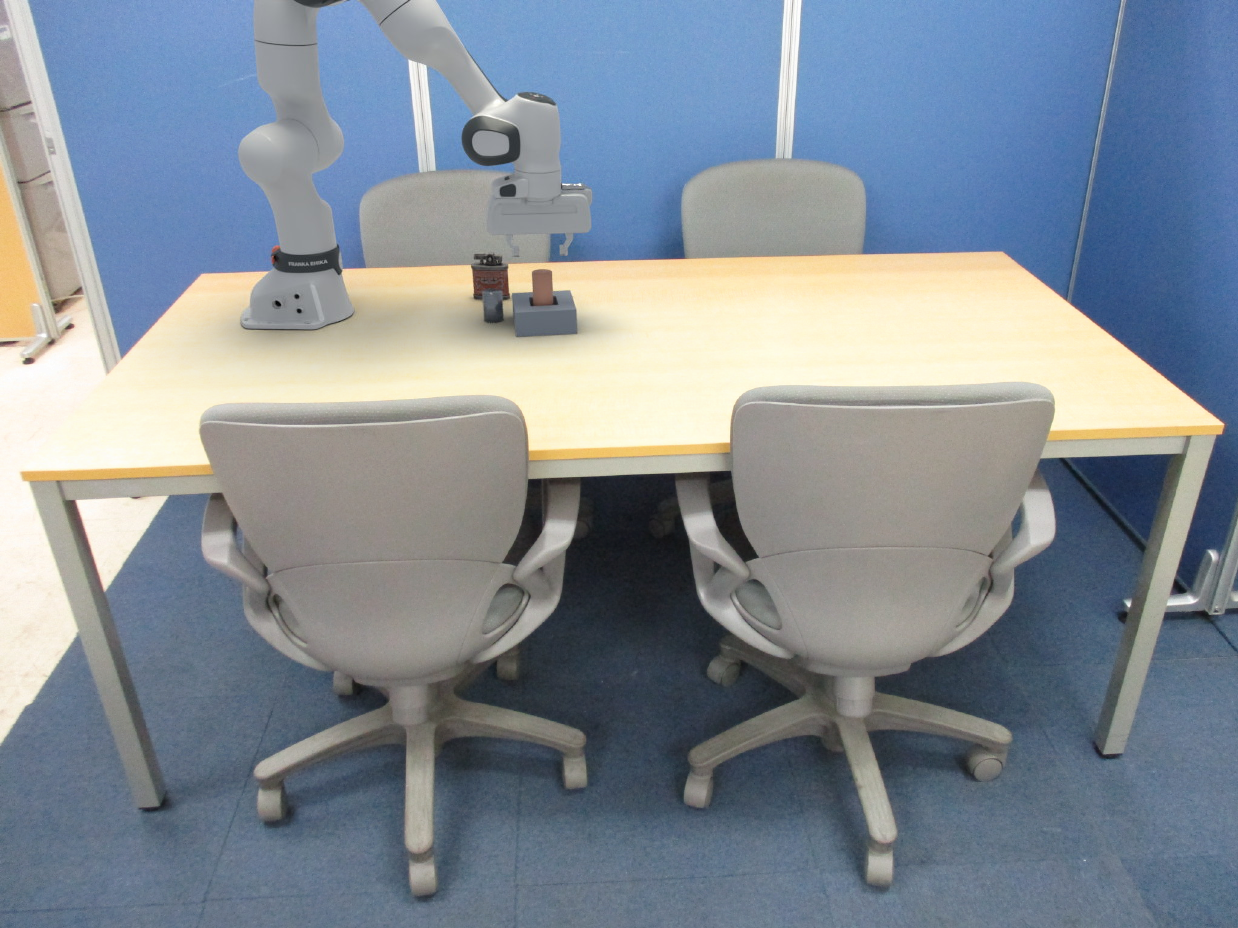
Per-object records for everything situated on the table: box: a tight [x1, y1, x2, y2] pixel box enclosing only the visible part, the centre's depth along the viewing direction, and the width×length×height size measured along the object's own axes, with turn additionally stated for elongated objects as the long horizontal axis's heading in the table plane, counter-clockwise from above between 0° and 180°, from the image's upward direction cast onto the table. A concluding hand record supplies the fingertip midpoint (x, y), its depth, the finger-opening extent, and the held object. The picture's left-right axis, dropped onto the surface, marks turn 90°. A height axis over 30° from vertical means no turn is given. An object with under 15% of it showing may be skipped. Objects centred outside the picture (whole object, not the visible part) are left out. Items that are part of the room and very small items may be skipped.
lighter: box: [470, 251, 511, 301], centre depth 213 cm, size 8×3×10 cm, turn 84°
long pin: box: [531, 268, 554, 306], centre depth 198 cm, size 4×4×11 cm
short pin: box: [482, 289, 505, 324], centre depth 201 cm, size 4×4×6 cm
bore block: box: [511, 289, 578, 338], centre depth 199 cm, size 12×12×5 cm
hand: (539, 255), depth 194 cm, fingers open, 8 cm apart
